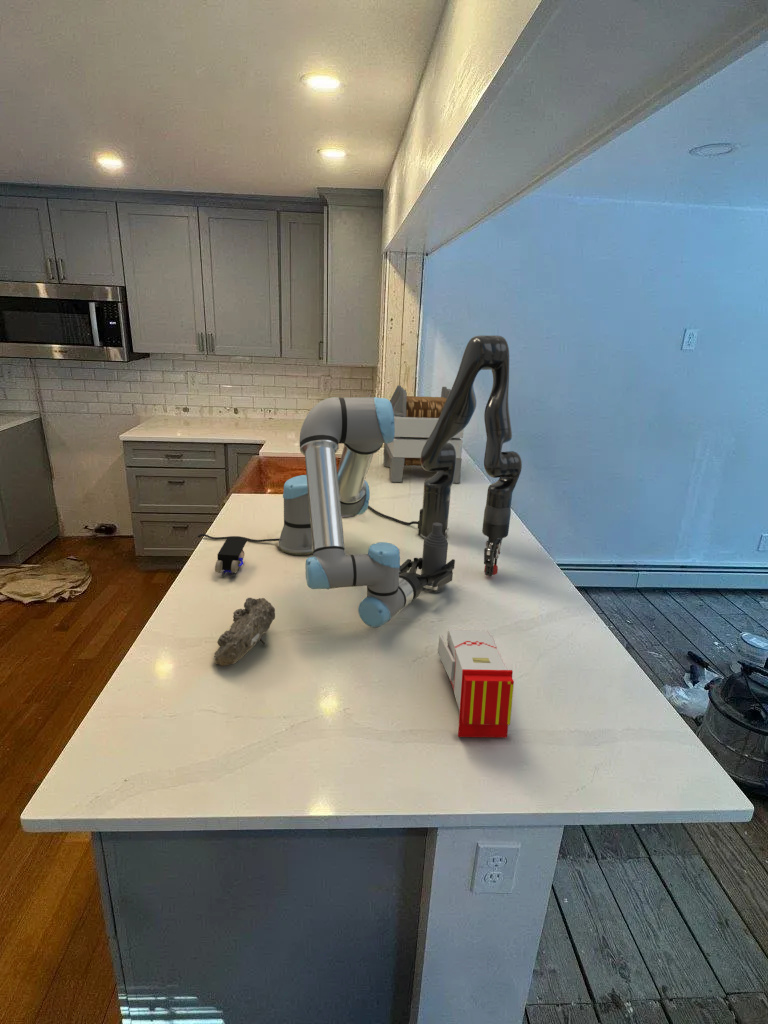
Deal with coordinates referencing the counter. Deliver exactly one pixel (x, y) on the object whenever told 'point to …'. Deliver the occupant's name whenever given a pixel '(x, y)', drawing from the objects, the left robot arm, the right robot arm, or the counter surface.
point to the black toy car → (230, 556)
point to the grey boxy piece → (416, 431)
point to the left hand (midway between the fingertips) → (441, 560)
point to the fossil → (245, 630)
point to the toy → (478, 682)
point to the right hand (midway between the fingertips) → (490, 572)
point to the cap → (493, 569)
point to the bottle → (434, 552)
